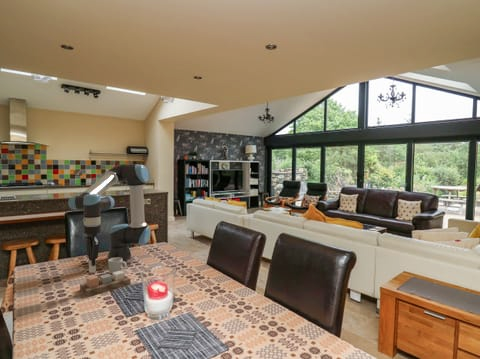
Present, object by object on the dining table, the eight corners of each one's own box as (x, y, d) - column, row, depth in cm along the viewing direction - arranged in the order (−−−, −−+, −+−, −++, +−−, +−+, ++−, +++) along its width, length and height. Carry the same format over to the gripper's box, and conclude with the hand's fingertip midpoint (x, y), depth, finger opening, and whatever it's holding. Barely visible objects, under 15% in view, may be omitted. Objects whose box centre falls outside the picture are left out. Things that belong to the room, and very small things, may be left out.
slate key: (108, 282, 152) (108, 273, 152) (111, 284, 149) (111, 275, 149) (99, 284, 149) (99, 275, 149) (103, 286, 146) (103, 278, 146)
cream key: (120, 278, 157) (120, 270, 157) (124, 280, 154) (124, 272, 154) (112, 280, 154) (112, 272, 153) (115, 283, 151) (115, 274, 150)
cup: (129, 270, 173) (129, 257, 172) (122, 275, 165) (122, 262, 165) (112, 269, 174) (112, 257, 174) (105, 274, 166) (105, 261, 166)
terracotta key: (95, 283, 147) (95, 275, 147) (98, 286, 144) (98, 277, 144) (86, 286, 144) (86, 277, 144) (89, 288, 141) (89, 279, 141)
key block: (121, 278, 161) (121, 273, 160) (130, 284, 153) (130, 278, 153) (79, 290, 145) (79, 284, 145) (87, 297, 137) (87, 291, 137)
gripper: (79, 224, 145) (80, 270, 146) (88, 228, 136) (89, 277, 137) (95, 222, 150) (95, 266, 151) (105, 226, 141) (105, 273, 142)
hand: (92, 271), depth 144 cm, fingers closed
